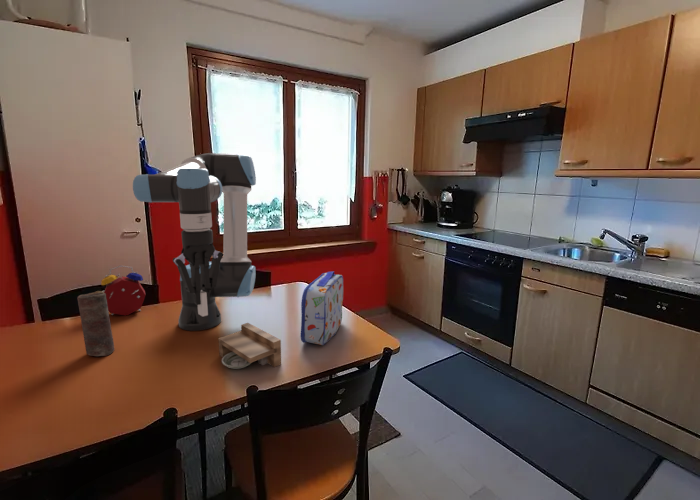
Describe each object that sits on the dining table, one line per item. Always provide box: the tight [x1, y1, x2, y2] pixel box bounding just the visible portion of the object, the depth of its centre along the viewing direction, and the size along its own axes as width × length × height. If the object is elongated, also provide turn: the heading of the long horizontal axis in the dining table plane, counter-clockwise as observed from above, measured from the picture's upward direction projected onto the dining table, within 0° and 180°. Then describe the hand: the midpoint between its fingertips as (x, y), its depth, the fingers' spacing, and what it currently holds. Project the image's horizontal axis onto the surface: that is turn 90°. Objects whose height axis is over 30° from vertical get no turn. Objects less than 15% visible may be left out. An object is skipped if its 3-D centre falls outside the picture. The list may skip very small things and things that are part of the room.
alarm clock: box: [100, 265, 146, 317], centre depth 146 cm, size 15×9×20 cm, turn 121°
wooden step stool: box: [218, 322, 282, 368], centre depth 113 cm, size 18×10×8 cm, turn 47°
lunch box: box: [299, 271, 344, 346], centre depth 131 cm, size 28×10×22 cm, turn 168°
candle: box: [77, 290, 115, 357], centre depth 114 cm, size 8×7×20 cm
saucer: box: [221, 352, 252, 370], centre depth 111 cm, size 10×10×2 cm
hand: (203, 314), depth 100 cm, fingers closed
